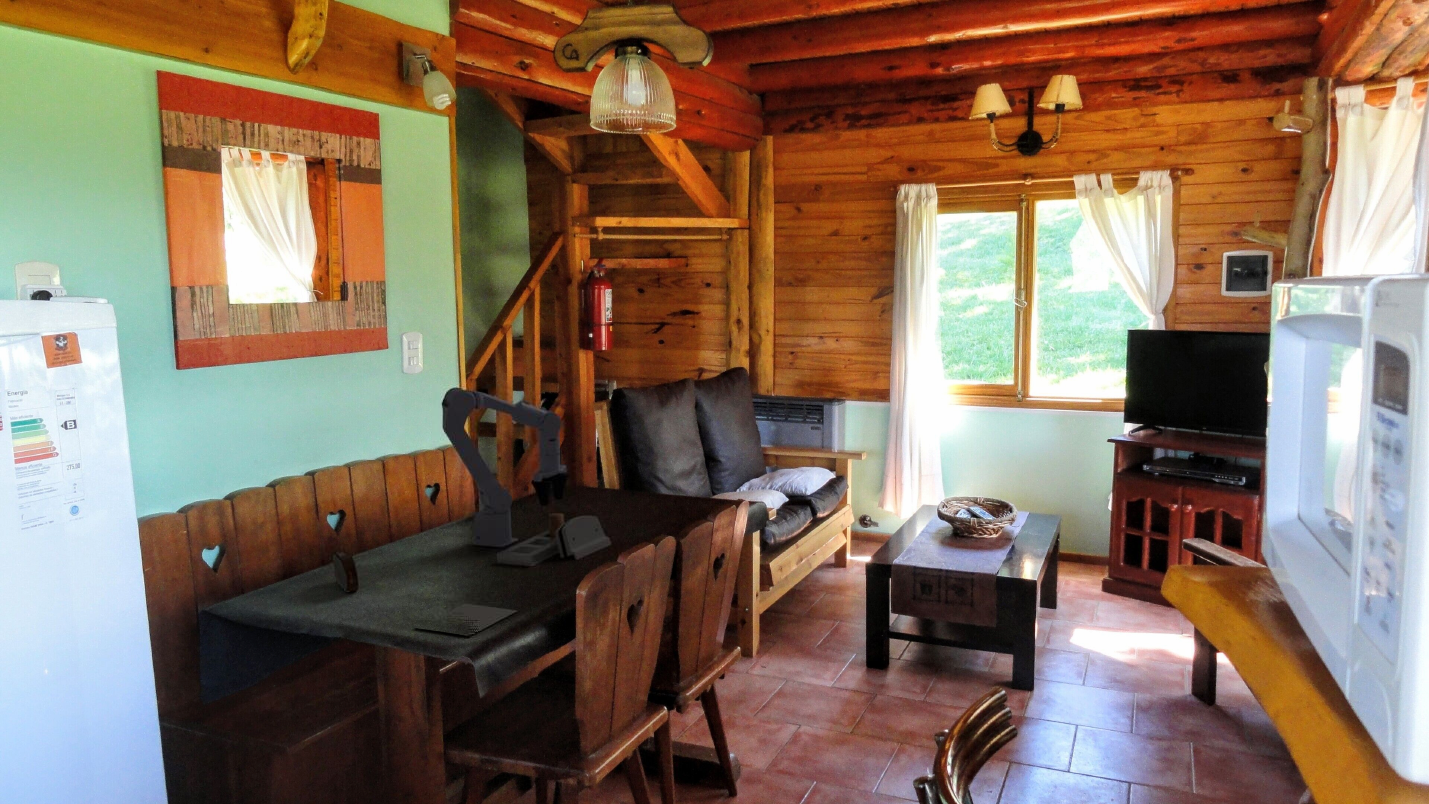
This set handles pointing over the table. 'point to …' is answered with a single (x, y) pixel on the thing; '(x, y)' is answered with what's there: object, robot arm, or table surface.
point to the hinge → (581, 537)
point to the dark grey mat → (480, 615)
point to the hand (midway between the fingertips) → (551, 502)
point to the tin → (345, 570)
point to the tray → (530, 551)
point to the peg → (555, 523)
